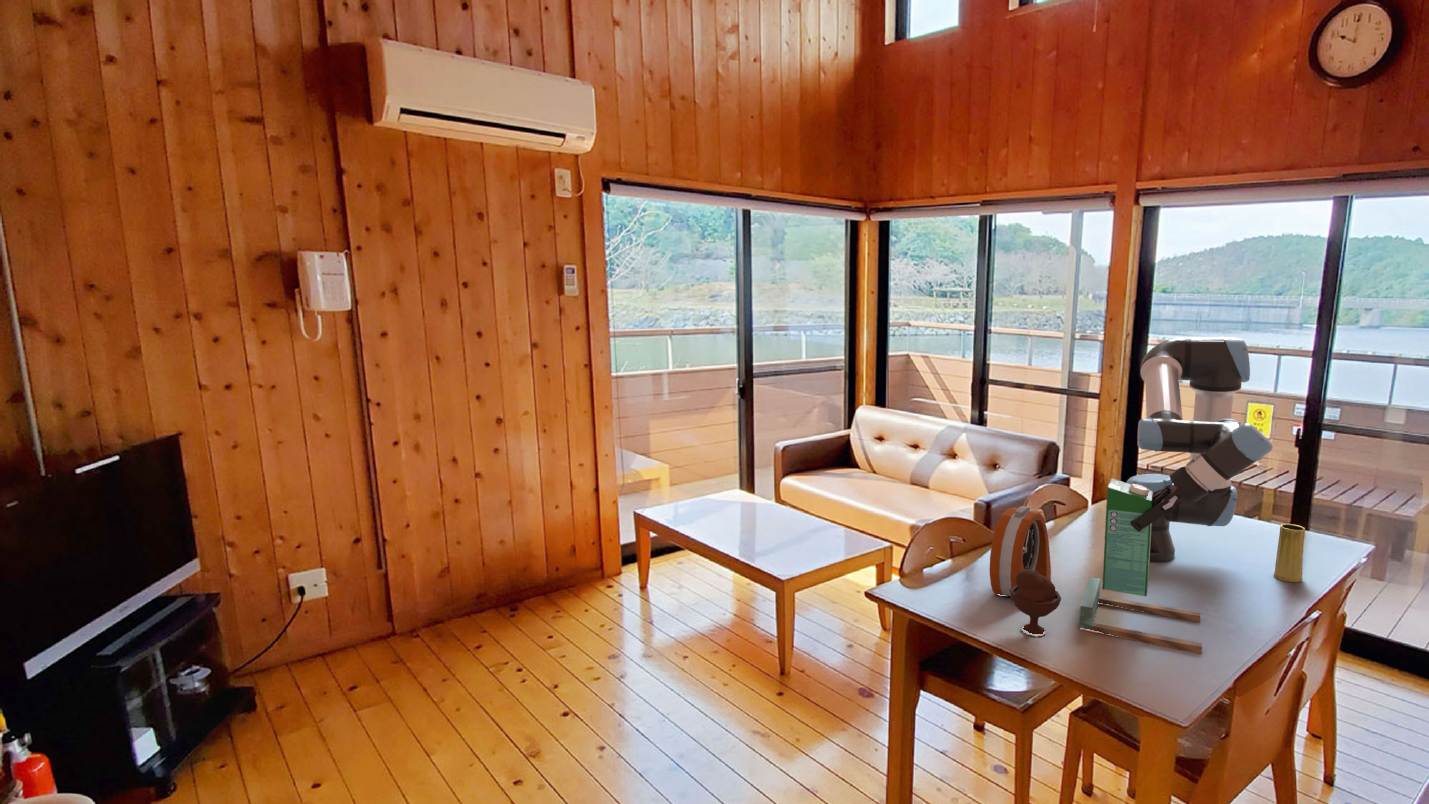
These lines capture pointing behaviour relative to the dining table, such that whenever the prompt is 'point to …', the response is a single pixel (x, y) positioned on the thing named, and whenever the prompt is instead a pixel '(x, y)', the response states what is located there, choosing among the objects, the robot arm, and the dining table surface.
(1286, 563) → the vase
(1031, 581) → the ice cream bowl
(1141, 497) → the milk carton
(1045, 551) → the alarm clock
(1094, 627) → the track
